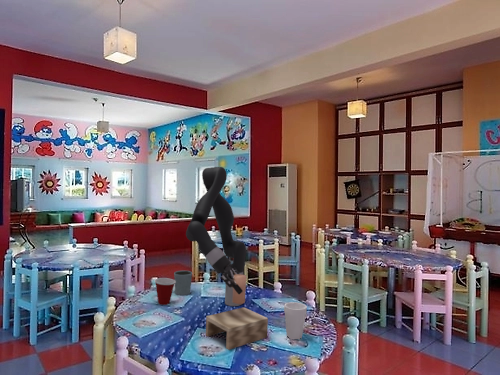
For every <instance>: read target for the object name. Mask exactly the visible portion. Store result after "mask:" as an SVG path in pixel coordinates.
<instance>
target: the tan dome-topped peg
mask: <svg viewBox="0 0 500 375" xmlns="http://www.w3.org/2000/svg"><path fill="white" fill-rule="evenodd" d="M234 277H235V281H236V283H237V284H238V285H239V287H240V288H241V289H242V290H243V292H242V293H240V294H238V293H237V292H236V291H235V289H234V288H233V298H232V302H233V303H236V304H242V305H243V304H245V302H246V290H247V288H246V286H247V275H245V274H243V275H242V274H236V275H234Z"/></svg>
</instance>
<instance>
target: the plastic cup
mask: <svg viewBox="0 0 500 375" xmlns="http://www.w3.org/2000/svg"><path fill="white" fill-rule="evenodd" d="M154 282H155V288H156V295H157V296H156V297H157V302H158V305H160V306H161V305H162V306H166V305H169V304H171V303H170V302H171V299H172V295H173V291H174V290H173V289H174V288H175V283H176V281H175V280H174V278H173V279H172V278H167V277H160V278H155V279H154Z"/></svg>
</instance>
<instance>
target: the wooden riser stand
mask: <svg viewBox="0 0 500 375" xmlns="http://www.w3.org/2000/svg"><path fill="white" fill-rule="evenodd" d="M205 319H206V320H205V336H206V337H211V336H216V335H219V334H222V332H223V333H226V337H225V338H226V343H225V348H226V350H228V351H230V350H233V349H236V348H238V347H241V346H244V345H248V344H251V343H253V342H254V343H255V342H256V341H257V342H258V341H261V340H263V338H264V339H267V338H268V327H269V326H268V325H269V318H268V317H266V316H264V315H261V314H259V313H258V312H255V311H253V310H251V309H248V308H246V307H239V308H235V309H231V310H228V311H222V312H219V313H214V314H211V315H206V317H205ZM218 333H219V334H218ZM266 337H267V338H266ZM260 339H261V340H260Z"/></svg>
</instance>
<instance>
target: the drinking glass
mask: <svg viewBox="0 0 500 375" xmlns="http://www.w3.org/2000/svg"><path fill="white" fill-rule="evenodd" d="M173 277H174V278H173V280H175V281H176V283H175V284H174V294H175V295H176V296H188V295H190V294H191V285H192V278H193V272H192V271H190V270H177V271H174V273H173Z"/></svg>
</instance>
